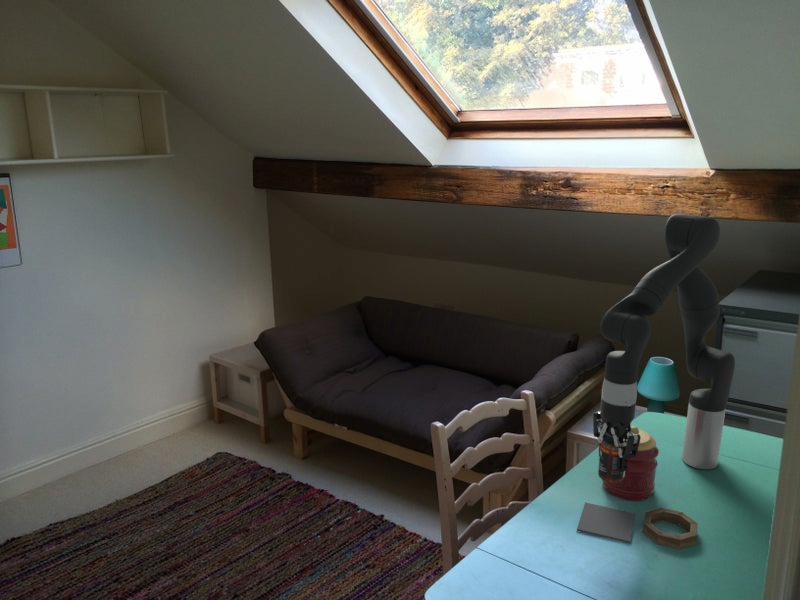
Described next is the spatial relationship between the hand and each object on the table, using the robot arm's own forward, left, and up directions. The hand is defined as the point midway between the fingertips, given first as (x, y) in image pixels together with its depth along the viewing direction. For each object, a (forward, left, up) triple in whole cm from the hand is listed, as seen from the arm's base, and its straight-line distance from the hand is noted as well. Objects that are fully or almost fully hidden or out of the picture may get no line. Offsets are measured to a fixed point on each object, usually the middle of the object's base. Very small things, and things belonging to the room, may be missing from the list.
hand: (612, 463), depth 161 cm
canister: (-18, +3, -16) cm, 24 cm away
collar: (-2, +14, -16) cm, 21 cm away
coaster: (0, 0, -16) cm, 16 cm away
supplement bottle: (0, 0, -4) cm, 4 cm away
